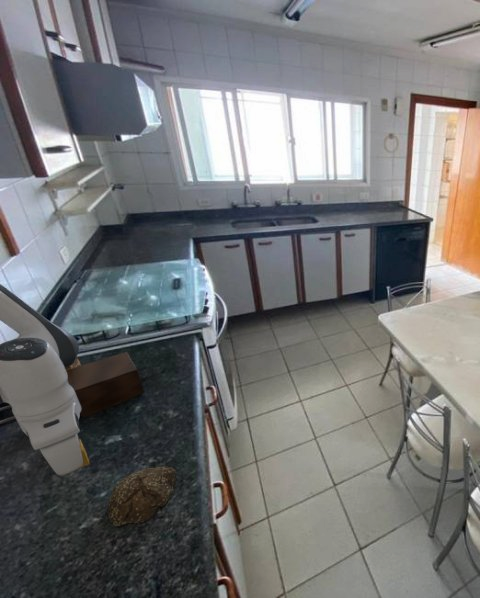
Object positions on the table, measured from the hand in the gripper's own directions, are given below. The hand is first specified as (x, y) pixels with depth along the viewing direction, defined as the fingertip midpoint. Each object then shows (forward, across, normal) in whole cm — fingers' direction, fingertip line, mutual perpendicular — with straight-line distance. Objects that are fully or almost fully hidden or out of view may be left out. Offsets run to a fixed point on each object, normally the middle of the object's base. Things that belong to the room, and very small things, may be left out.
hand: (72, 458), depth 73 cm
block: (+2, 0, 0) cm, 2 cm away
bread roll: (+7, +14, +8) cm, 18 cm away
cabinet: (+8, -31, +10) cm, 33 cm away
